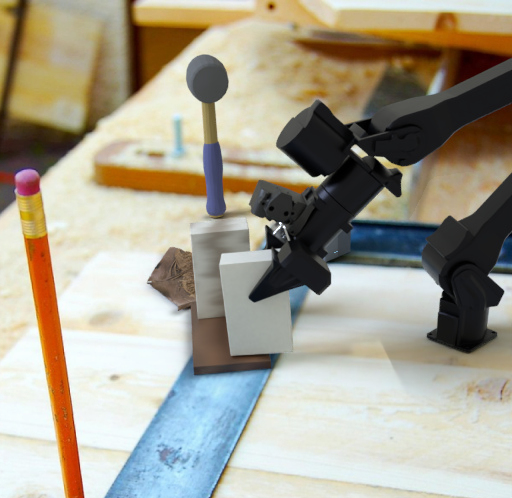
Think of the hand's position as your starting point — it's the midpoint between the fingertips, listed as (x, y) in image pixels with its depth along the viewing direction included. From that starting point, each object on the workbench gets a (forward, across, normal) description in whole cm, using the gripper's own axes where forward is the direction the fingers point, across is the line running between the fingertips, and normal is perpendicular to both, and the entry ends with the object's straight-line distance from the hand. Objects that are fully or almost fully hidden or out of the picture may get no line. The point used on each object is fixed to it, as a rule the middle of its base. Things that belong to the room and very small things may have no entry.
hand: (249, 293), depth 97 cm
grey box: (-4, -34, +17) cm, 39 cm away
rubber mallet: (+8, -58, +6) cm, 59 cm away
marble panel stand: (+9, -7, +5) cm, 12 cm away
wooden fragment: (+14, -29, 0) cm, 32 cm away
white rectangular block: (+5, 0, +6) cm, 8 cm away
